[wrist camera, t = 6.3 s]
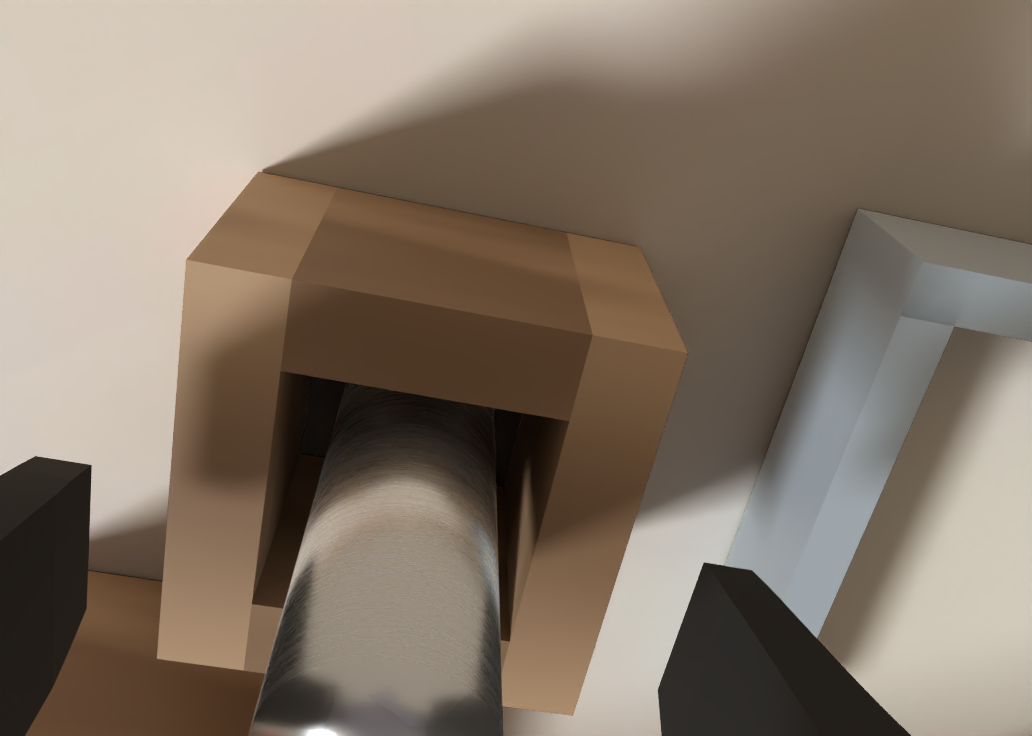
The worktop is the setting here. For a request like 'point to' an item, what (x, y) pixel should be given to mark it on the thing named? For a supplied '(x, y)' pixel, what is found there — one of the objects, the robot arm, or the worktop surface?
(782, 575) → the tray
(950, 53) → the worktop surface
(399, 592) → the cylinder
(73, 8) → the worktop surface
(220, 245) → the block
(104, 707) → the block
